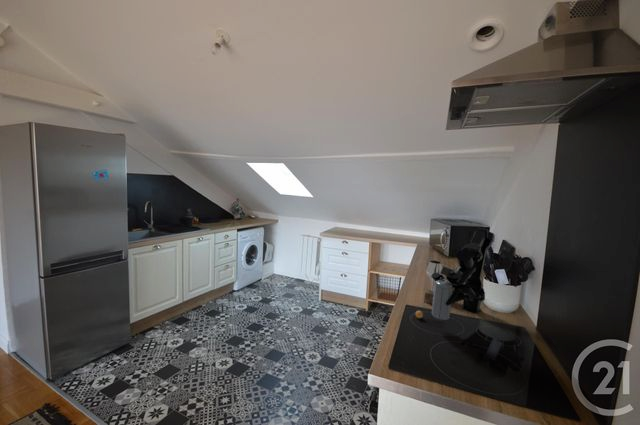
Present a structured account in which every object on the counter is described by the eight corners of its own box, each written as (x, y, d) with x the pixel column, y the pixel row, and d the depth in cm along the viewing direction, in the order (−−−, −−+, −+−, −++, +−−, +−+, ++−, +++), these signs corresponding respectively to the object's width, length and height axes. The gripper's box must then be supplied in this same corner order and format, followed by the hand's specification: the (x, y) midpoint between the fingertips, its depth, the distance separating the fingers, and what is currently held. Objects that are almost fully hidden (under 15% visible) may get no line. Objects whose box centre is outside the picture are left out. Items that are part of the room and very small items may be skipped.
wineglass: (433, 298, 147) (437, 265, 145) (420, 292, 154) (424, 260, 152) (443, 295, 152) (446, 263, 150) (429, 290, 159) (433, 259, 156)
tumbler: (451, 316, 115) (455, 284, 113) (443, 321, 111) (447, 287, 109) (437, 310, 120) (440, 279, 118) (428, 314, 116) (432, 282, 114)
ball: (424, 318, 124) (424, 311, 124) (419, 320, 122) (420, 313, 122) (417, 315, 127) (418, 308, 126) (413, 317, 125) (414, 310, 124)
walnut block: (436, 301, 144) (437, 292, 143) (434, 304, 140) (435, 295, 139) (426, 298, 146) (427, 289, 146) (424, 302, 142) (425, 292, 142)
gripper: (436, 254, 123) (414, 280, 120) (474, 267, 106) (448, 298, 103) (448, 270, 127) (426, 296, 124) (486, 285, 110) (461, 316, 107)
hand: (439, 300), depth 114 cm, fingers closed on tumbler, 7 cm apart
